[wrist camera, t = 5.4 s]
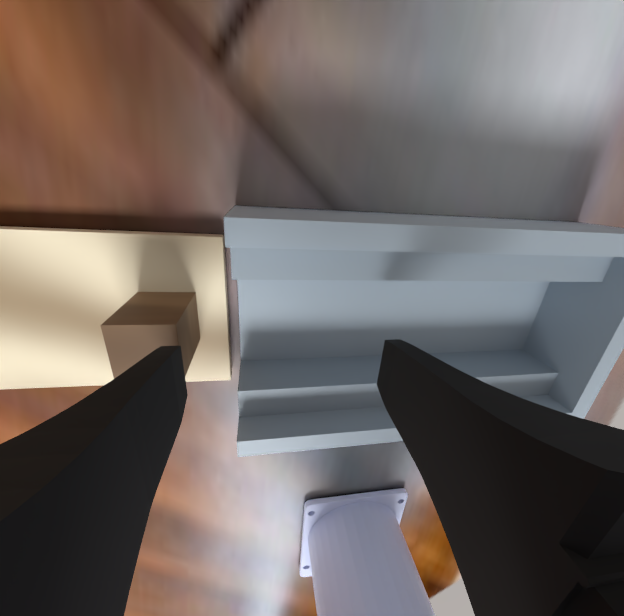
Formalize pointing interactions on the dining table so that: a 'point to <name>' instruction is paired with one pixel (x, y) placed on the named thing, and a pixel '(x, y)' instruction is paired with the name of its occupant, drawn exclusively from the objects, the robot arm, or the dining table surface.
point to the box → (413, 314)
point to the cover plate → (109, 304)
